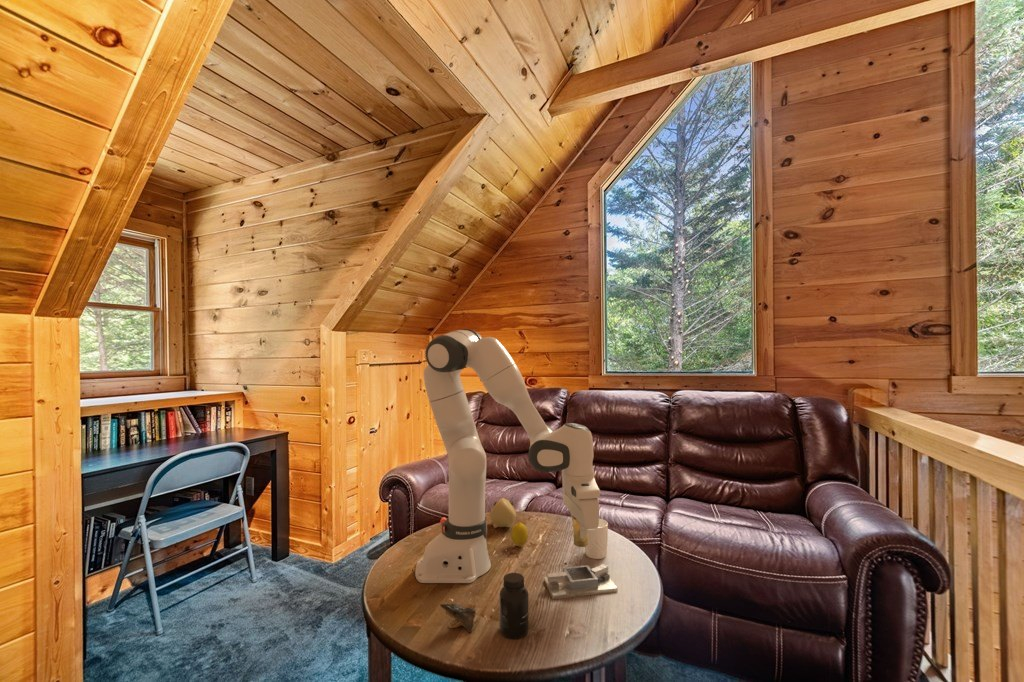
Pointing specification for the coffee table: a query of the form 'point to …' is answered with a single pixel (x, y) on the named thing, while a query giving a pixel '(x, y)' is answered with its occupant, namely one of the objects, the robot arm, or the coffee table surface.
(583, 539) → the cylinder
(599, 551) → the white cup
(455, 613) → the shark head
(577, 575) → the shaft rig
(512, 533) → the lemon
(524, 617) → the supplement bottle
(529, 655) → the coffee table surface
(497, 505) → the pale yellow wedge piece
